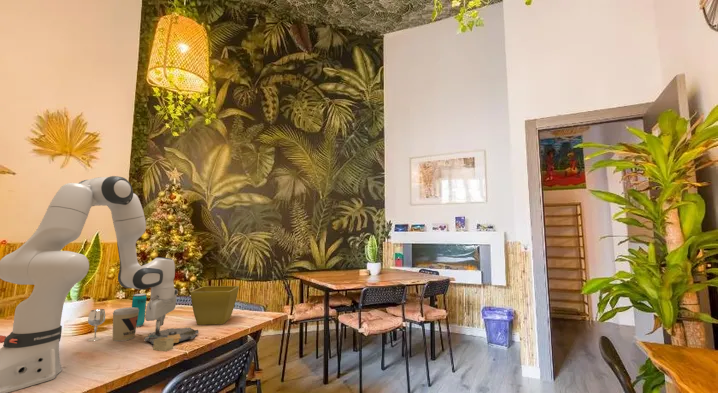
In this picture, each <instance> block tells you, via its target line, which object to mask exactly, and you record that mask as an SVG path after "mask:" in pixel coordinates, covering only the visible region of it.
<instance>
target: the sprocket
mask: <svg viewBox="0 0 718 393" xmlns="http://www.w3.org/2000/svg"><path fill="white" fill-rule="evenodd" d="M197 334H198V335H199V330H198V329H193V328H191V327H179V328H176V327H175V328H174V327H171V328H166V329H163V330H161V326H160V321H157V320H155V331H154V332H153V331H152V332H149V335H148V336H145V337H144V342H149V343H151V345H154V339H157V338H160V337H167V338H174V343H173V344H177V343H179V342H182V341H187V340H192V339H194V338H196V335H197Z"/></svg>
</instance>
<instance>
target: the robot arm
mask: <svg viewBox="0 0 718 393" xmlns="http://www.w3.org/2000/svg"><path fill="white" fill-rule="evenodd" d="M95 206H107V208H108V209H109V210H110V213H111V218H112V223H113V227H114V231H115V236H116V237H115V238H116V242H117V244H116V245H117V251H118V259H119V271H118V275H117V281H118V283H119V285H120V286H121V287H123V288H125V289H135V290H142V291H143V290H148V289H150V300H149V302H148V303H146V309H145V321H147V322H152V321H153V322H154V321H160V327H162V326H164V322H165V319H166V315H167V314H169V313H171V312H173V311H174V310H175V308H176V304H177V295H178V292H179V290H178V289H177V288H175V283H174V280H175V276H176V264H175V261H174V259H173V258H168V257H161V256H157V257H155V258H154V259H153V260H151V261H150V262H148V263H145V264H143V265H141V264H140V263H139V260H138V254H137V247H136V246H137V241H138V240H139V239H140V238H141V237H142V236H143V235H144V234H145V232H146V229H147V221H146V217H145V213H144V209H143V206H142V204H141V201H140V198H139V196H138V195H137V194H136V193H134V189H133V186H132V184H131V183H130V181H129V180H128V179H126V178H125V177H122V176H118V175H116V176H115V175H112V176H111V175H110V176H102V177H101V176H100V177H94V178H93V177H92V178H89V179H85V180H81V181H79V182H67V183H65V184H63V185H62V186H61V187H60V188H59V189H58V191H57V192H56V193H55V195H54V196H53V197H52V200H51V201H50V203H49V205H48V207H47V209H46V211H45V213H44V215H43V218H42V219H41V221H40V223H39V225H38V228H36V230H35V231H34V232H33V234H32V235H31V236H30V237H29V238H28V239H27V241H25V242H24V243H23V244H22V245H21V246H19V248H17V249H16V250H14V251H12V252H10V253H8V254H6V255H4V256H3V257H2V258H1V259H0V280H2V281H4V282H7V283H11V284H15V285H22V286H23V285H26V286H27V285H30V286H31V285H34V287H33V289H32V292H31V293H30V295H29V296H28V298H25V299H24V300H23V301H20V303H19V304H17V306H16V307H15V311H14V317H13V324H12V330H11V332H10V333H9V334H8V335H7V336H5V335H0V344H2V347H0V393H11V392H15V391H18V390H21V389H25V388H29V387H31V386H35V385H39V384H42V383H45V382H49V381H51V380H54V379H56V377H57V375H58V374H60V373H61V372H62V370H63V368H62V364H61V357H60V341H61V337H62V332H63V331H62V330H63V326H62V325H61V323H62V317H63V316H62V315H63V310H64V305H65V302H66V298H67V296H68V295H69V293H70V291H71V290H72V288H74V286H76V284H77V283H79V282H81V281H82V280H84V279H85V277H86V276H87V274H88V272H89V270H90V262H89V259H88V257H87V256H86V255H85V254H82V253H79V252H74V251H71V250H70V251H69V250H63V249H64V248H65V246H68V245H69V244H70V243H72V242H75V241H76V240H77V239H78V238H80V237H81V234H82V231H83V228H84V227H85V224H86V222H87V219H88V217H89V215H90V214H89V213H90V211H91V208H92V207H95Z"/></svg>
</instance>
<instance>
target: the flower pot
mask: <svg viewBox="0 0 718 393" xmlns="http://www.w3.org/2000/svg"><path fill="white" fill-rule="evenodd" d="M239 288H240V287H239V285H206V286H205V285H203V286H202V287H198V288H196V289H194V290H191V291H190V300H191V306H192V311H193V315H194V318H195V322H196V324H197V326H198V325H200V326H201V325H204V326H205V325H207V326H208V325H223V324H225V323H227V321H229V320H230V318H231V316H232V314H233V311H234V308H235V305H236V302H237V298H238V294H239V290H240V289H239Z"/></svg>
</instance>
